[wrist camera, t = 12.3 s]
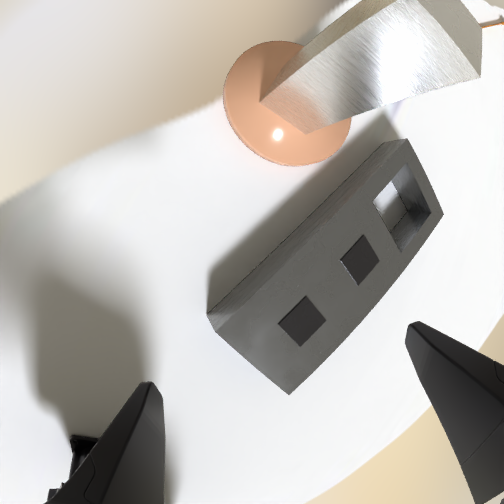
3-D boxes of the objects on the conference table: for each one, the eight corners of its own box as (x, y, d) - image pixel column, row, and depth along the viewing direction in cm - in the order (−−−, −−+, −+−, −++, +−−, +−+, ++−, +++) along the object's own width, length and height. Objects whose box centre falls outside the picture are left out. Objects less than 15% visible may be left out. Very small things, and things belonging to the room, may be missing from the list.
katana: (471, 27, 29) (482, 23, 27) (508, 20, 34) (515, 18, 31) (475, 33, 30) (485, 30, 27) (511, 24, 34) (518, 22, 32)
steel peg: (305, 134, 20) (480, 77, 7) (259, 102, 19) (409, -7, 5) (326, 95, 20) (482, 28, 7) (284, 64, 19) (422, -40, 6)
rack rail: (273, 375, 23) (289, 395, 20) (206, 314, 21) (215, 332, 18) (420, 212, 26) (444, 214, 23) (383, 142, 23) (408, 138, 21)
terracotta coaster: (210, 148, 19) (213, 145, 18) (237, 31, 18) (241, 25, 17) (336, 180, 22) (344, 179, 21) (348, 72, 21) (355, 69, 21)
